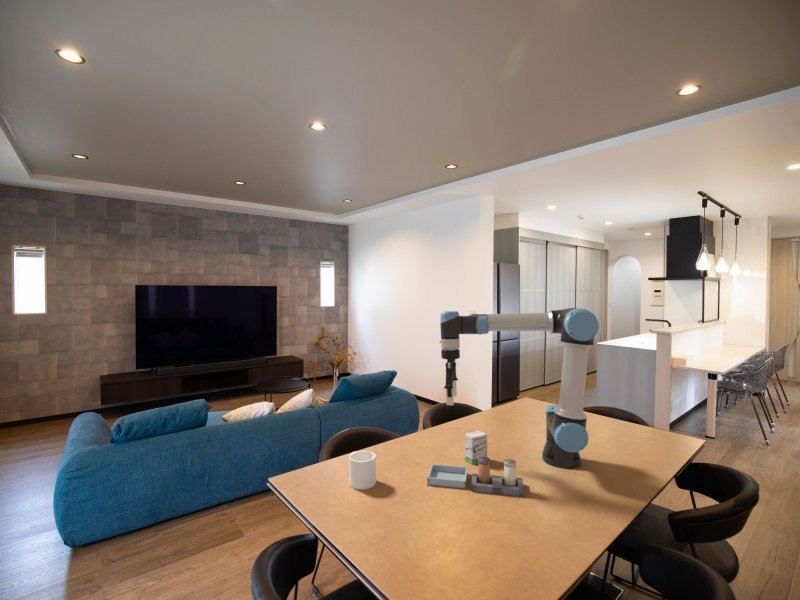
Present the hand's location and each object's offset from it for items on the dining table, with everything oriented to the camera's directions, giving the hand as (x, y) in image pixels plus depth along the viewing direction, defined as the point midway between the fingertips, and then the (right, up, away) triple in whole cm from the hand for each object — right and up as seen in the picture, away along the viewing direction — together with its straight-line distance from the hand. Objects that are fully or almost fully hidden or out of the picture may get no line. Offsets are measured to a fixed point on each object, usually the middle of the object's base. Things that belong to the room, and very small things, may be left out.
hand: (451, 400), depth 157 cm
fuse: (+18, -27, -20) cm, 38 cm away
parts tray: (-3, -27, -12) cm, 30 cm away
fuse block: (+14, -27, -19) cm, 36 cm away
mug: (-36, -28, -13) cm, 47 cm away
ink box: (+11, -27, +4) cm, 30 cm away
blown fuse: (+9, -27, -18) cm, 34 cm away
